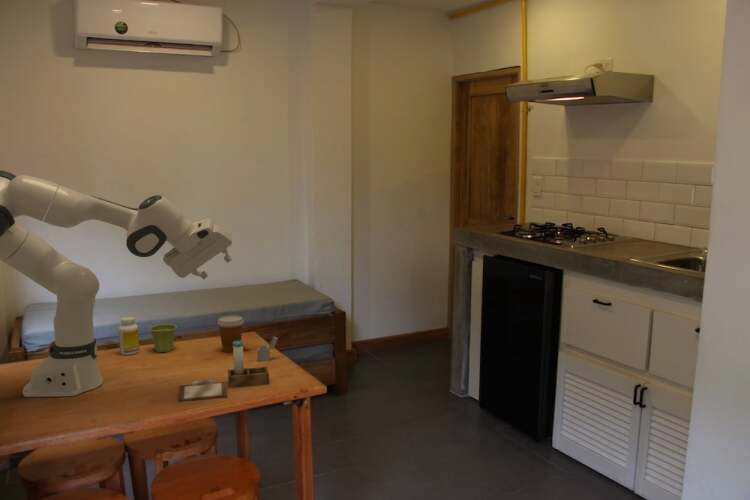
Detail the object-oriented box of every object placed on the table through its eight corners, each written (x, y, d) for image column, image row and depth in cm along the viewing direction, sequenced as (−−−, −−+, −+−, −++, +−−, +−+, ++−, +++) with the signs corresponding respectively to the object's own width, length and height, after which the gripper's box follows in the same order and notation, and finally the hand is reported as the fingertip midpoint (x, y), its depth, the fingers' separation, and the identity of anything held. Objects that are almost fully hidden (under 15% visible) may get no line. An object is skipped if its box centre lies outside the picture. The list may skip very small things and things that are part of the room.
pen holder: (228, 387, 199) (228, 376, 198) (228, 380, 205) (227, 369, 204) (269, 384, 202) (268, 373, 201) (267, 376, 208) (266, 366, 208)
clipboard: (178, 401, 188) (178, 396, 187) (180, 387, 199) (179, 382, 199) (227, 397, 191) (226, 392, 191) (225, 383, 203) (225, 378, 202)
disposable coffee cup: (224, 345, 241) (222, 314, 239) (248, 346, 239) (247, 315, 237) (214, 353, 231) (213, 321, 229) (239, 354, 230) (238, 322, 228)
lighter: (258, 361, 223) (257, 339, 222) (257, 360, 224) (256, 338, 223) (278, 359, 226) (277, 337, 224) (277, 357, 227) (276, 335, 226)
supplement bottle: (143, 351, 233) (141, 317, 231) (127, 356, 228) (125, 322, 225) (131, 348, 237) (129, 315, 235) (116, 353, 231) (113, 319, 229)
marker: (234, 385, 201) (233, 344, 199) (234, 381, 204) (232, 341, 202) (244, 384, 202) (243, 343, 199) (243, 380, 205) (242, 340, 202)
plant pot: (167, 344, 242) (165, 322, 240) (183, 349, 236) (181, 326, 235) (145, 351, 234) (144, 328, 233) (161, 355, 229) (160, 332, 227)
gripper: (158, 263, 188) (190, 292, 196) (213, 224, 185) (243, 256, 193) (160, 252, 194) (192, 281, 201) (213, 214, 191) (243, 245, 198)
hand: (217, 268), depth 197 cm, fingers open, 8 cm apart
